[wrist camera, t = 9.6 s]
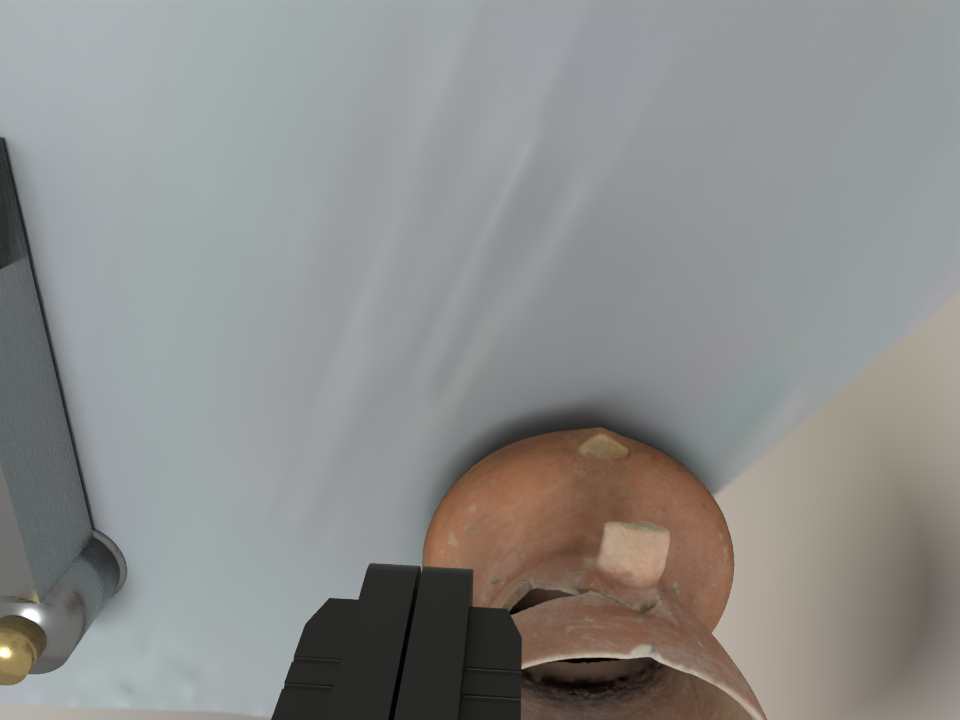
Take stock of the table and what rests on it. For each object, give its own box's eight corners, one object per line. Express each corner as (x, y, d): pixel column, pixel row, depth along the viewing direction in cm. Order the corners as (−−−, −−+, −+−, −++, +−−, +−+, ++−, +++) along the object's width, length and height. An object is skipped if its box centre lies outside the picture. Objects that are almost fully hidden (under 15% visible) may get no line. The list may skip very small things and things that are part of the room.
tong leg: (128, 602, 42) (79, 677, 37) (40, 599, 42) (-19, 674, 37) (25, 137, 32) (-59, 159, 27) (-89, 135, 32) (-193, 157, 27)
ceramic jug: (455, 356, 35) (417, 561, 23) (763, 407, 36) (899, 638, 23) (408, 644, 43) (360, 918, 30) (663, 683, 44) (722, 971, 31)
